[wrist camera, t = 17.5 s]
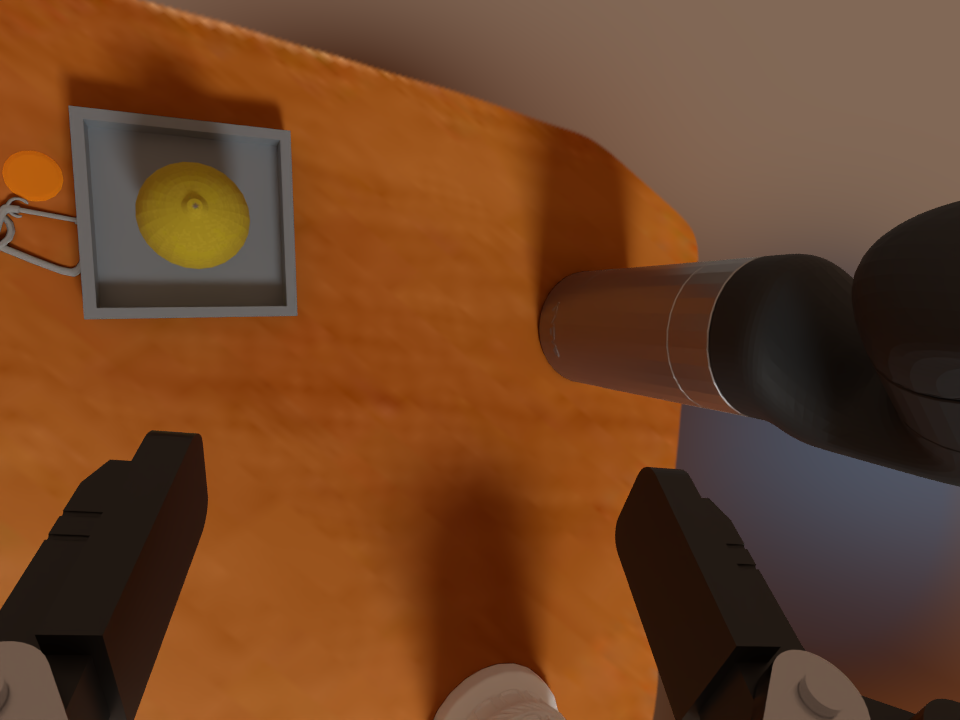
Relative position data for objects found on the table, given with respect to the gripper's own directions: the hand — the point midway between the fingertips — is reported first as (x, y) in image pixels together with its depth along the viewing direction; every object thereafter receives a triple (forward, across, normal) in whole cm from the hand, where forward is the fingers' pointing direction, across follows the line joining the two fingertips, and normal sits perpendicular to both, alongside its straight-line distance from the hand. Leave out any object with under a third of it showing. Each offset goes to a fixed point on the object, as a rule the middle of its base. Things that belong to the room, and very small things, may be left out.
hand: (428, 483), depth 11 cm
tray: (+28, +13, +8) cm, 32 cm away
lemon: (+28, +12, +8) cm, 31 cm away
